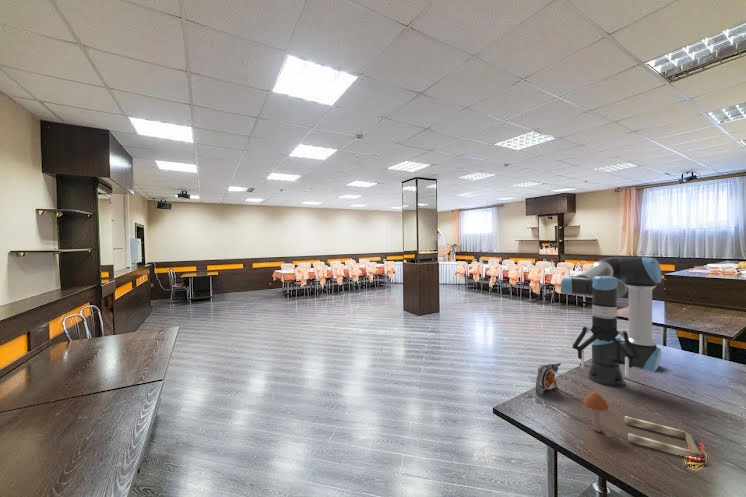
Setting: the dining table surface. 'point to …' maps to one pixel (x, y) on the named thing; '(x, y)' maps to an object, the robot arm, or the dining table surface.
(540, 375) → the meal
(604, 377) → the robot arm
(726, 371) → the dining table surface
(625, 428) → the dining table surface
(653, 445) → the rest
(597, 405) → the mushroom
